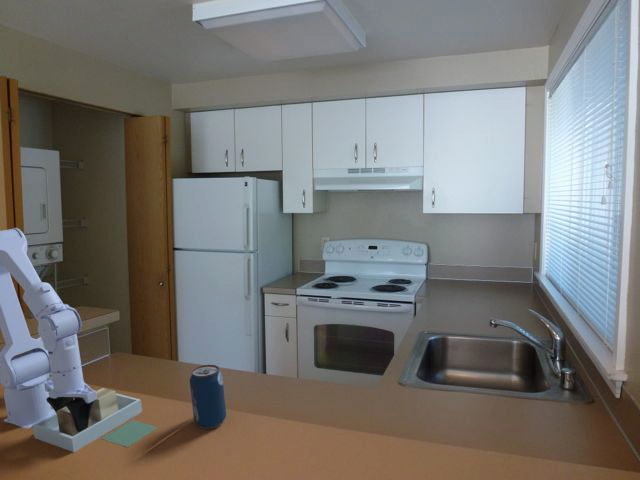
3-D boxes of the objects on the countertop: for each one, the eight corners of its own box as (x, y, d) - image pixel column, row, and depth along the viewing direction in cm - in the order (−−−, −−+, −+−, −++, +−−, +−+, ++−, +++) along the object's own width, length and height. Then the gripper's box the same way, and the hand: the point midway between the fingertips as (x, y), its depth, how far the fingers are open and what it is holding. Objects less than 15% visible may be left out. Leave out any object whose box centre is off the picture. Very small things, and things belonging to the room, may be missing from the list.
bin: (34, 440, 104) (32, 425, 103) (104, 403, 119) (102, 389, 118) (74, 454, 97) (71, 438, 97) (142, 413, 112) (140, 399, 112)
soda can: (232, 415, 109) (227, 364, 107) (216, 432, 102) (210, 378, 100) (205, 412, 111) (200, 362, 109) (187, 428, 105) (182, 375, 103)
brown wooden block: (60, 435, 104) (56, 410, 103) (78, 424, 108) (75, 400, 107) (73, 439, 102) (69, 414, 101) (91, 429, 106) (88, 404, 105)
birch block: (89, 419, 110) (85, 396, 109) (106, 410, 114) (102, 387, 113) (102, 423, 108) (98, 399, 107) (118, 413, 112) (115, 391, 111)
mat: (101, 441, 102) (101, 438, 102) (132, 422, 109) (132, 419, 109) (127, 449, 98) (127, 447, 98) (158, 429, 105) (158, 427, 105)
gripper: (26, 369, 103) (36, 429, 105) (70, 380, 96) (80, 444, 98) (58, 356, 109) (67, 413, 111) (101, 366, 102) (110, 426, 104)
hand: (75, 426), depth 105 cm, fingers closed on brown wooden block, 4 cm apart
